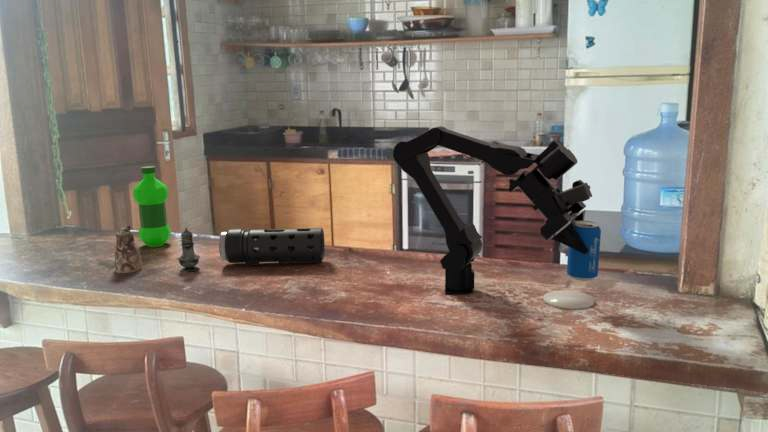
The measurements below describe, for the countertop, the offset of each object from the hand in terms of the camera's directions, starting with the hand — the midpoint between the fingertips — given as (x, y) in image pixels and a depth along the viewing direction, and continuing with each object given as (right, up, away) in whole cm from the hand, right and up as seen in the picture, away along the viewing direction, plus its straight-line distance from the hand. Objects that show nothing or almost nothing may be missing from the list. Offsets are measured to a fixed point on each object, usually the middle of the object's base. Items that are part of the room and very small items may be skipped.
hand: (590, 248), depth 141 cm
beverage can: (-1, -6, +2) cm, 7 cm away
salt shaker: (-98, -8, +40) cm, 106 cm away
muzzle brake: (-75, -7, +44) cm, 87 cm away
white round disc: (-3, -12, +7) cm, 14 cm away
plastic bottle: (-117, -2, +69) cm, 136 cm away
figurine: (-115, -8, +43) cm, 123 cm away
